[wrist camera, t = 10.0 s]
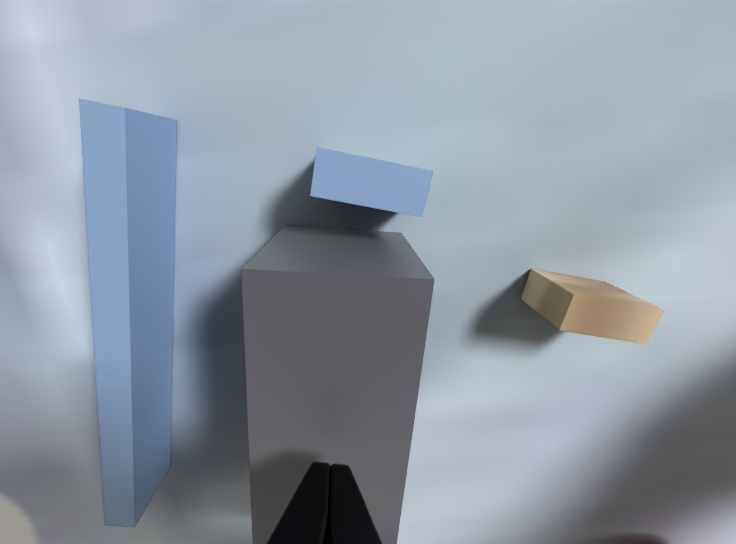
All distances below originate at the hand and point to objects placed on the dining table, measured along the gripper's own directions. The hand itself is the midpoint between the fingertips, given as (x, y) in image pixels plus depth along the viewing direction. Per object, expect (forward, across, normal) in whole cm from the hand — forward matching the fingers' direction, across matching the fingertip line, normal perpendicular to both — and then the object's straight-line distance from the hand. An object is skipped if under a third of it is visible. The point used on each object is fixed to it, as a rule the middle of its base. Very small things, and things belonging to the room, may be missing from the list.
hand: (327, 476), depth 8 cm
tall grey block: (+6, 0, 0) cm, 6 cm away
